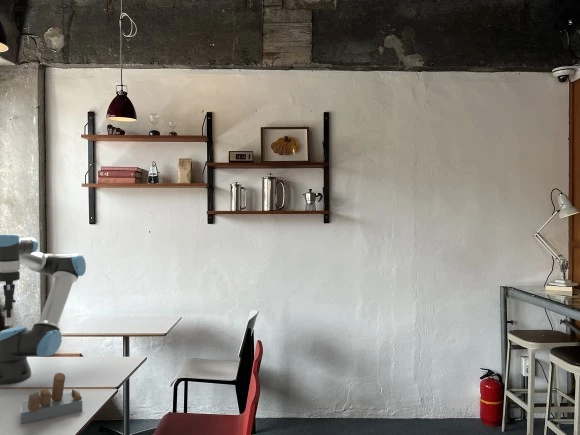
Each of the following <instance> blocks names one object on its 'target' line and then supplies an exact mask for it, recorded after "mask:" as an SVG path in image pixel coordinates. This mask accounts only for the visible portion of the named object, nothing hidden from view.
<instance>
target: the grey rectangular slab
mask: <svg viewBox="0 0 580 435" xmlns="http://www.w3.org/2000/svg"><path fill="white" fill-rule="evenodd" d="M77 392H78V393H79V394H80V395H81V391H80V390H77ZM71 395H72V391H71V392H66V393H63V397H62V399H61V400H59V401H54V400H52V398H51V403H50V405H47V406H44V407H42V406H41V405H40V406H39V410H37V411H34V412H31V413H30V411H29V409H28V400H25V401H22V403H21V404H22V405H21V407H22V408H21V424H28V423H32V421H33V422H36V421H41V420H45V419H51V418H55V417H59V416H65V415H68V414H69V415H70V414H73V413H74V414H75V413H78V412H83V397H82V398H81V399H78V400H75V401H74V399H73V398H72V396H71Z"/></svg>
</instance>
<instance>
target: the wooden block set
mask: <svg viewBox="0 0 580 435" xmlns="http://www.w3.org/2000/svg"><path fill="white" fill-rule="evenodd" d="M65 381H66V374H65V373H63V372H56V373H55V374H54V375H53V382H52V389H51V392H50V390H49V389H47V388H41V389H40V392H37V391H36V392H33V393H29V395H28V400H27V401H28V409H29V411H30V413H31V412H34V411H37V410H39V406H40V405H41V406H42V407H44V406H47V405H50V403H51V398H52V400H54V401H59V400H61V399H62V397H63V394H64V390H65ZM77 391H78V390H77ZM77 391H76V390H75V389H73V388H72V389H71V392H72V395H71V396H72V398H73V399H74V401H75V400H78V399H81V398H82V399H83V396H82V395H81V393H80V394H79V393H78V392H77Z"/></svg>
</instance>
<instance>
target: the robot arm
mask: <svg viewBox="0 0 580 435" xmlns="http://www.w3.org/2000/svg"><path fill="white" fill-rule="evenodd" d="M38 248H39V243H38V241H37V239H36V238H34V237H31V236H24V237H20V234H18V233H10V234H9V233H8V234H6V233H4V234H0V282H1V283H3V282H5V284H4V285H3V296H4V307H2V311H4V327H8V326H9V327H10V326H14V319H15V303H16V299H14V294H15V289H16V284H14V282H16V281H19V280H20V279H21V276H20V273H21V271H20V269H21V266H20V265H22V266H25V267H28V269H29V270H31V271H32V272H36V273H39V274H42V275H46V276H51V277H52V276H53V279H54V281H53V282H52V286H51V289H50V290H49V293H48V296H47V299H46V302H45V304H44V306H43V309H42V313H41V314H40V317H39V320H38V321H37V322H35V323H33V325H32V328H31V329H30V330H28V328H27V326H23V325H21V326H20V325H19V326H14V327H11V328H6V329H3V330H1V331H0V385H7V384H8V385H9V384H15V383H19V382H21V381H24V380H27V379H29V378H30V377H31V376H32V369H31V366H30V364H29V361H28V357H50V356H53V355H54V354H55V353H56V352H57V351H58V350H59V348H60V347H61V345H62V341H63V340H62V338H63V334H62V333H61V331H60V330H61V328H60V327H59V323H60V320H61V317H62V316H63V312H64V310H65V307H66V304H67V301H68V298H69V294H70V292H71V289H72V286H73V284H75V283H76V282H77V281H78V279H79V277H83V276H84V274H85V273H86V268H87V264H86V259H85V257H84V256H83V255H82V254H80V253H43V252H39V251H38ZM37 251H38V252H37Z"/></svg>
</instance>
